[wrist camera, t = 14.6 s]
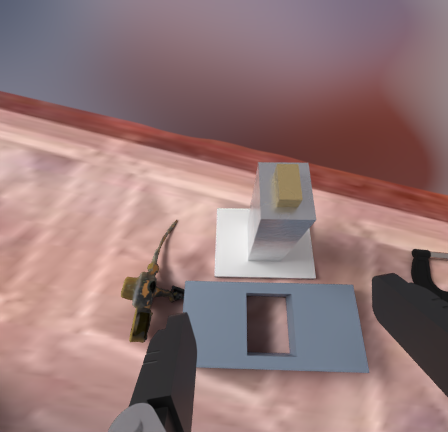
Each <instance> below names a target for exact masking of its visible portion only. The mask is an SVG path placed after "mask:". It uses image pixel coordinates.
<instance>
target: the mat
mask: <svg viewBox="0 0 448 432" xmlns="http://www.w3.org/2000/svg"><path fill="white" fill-rule="evenodd" d="M249 211H250V209H234V208H217V228H216V253H215V277H238V278H283V279H316V275H315V267H314V259H313V251H312V243H311V236H310V228H309V229H308V230H307V231H306V233H305V234H304V235H303V236H302V237H301V238H300V240H299V241H298V242H297V243H296V244H295V245H294V247H293V248H292V249H291V250H290V251H289V252H288V254H287V255H286V256H285V257H284V258H283V259H282V261H281V262H277V261H248V242H247V221H248V216H249Z"/></svg>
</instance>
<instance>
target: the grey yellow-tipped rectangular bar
mask: <svg viewBox="0 0 448 432" xmlns="http://www.w3.org/2000/svg"><path fill="white" fill-rule="evenodd" d="M315 221H316V215H315V207H314V200H313V193H312V186H311V179H310V172H309V165H308V163H262V162H258V168H257V173H256V179H255V184H254V189H253V195H252V200H251V205H250V211H249V216H248V221H247V242H248V261H277V262H281V261H282V259H283V258H284V257H285V256H286V255H287V254H288V252H289V251H290V250H291V249H292V248H293V247H294V245H295V244H296V243H297V242H298V241H299V240H300V238H301V237H302V236H303V235H304V234H305V233H306V231H307V230H308V229H309V228H310V227H311V225H312V224H313V223H314V222H315Z"/></svg>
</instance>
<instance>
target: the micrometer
mask: <svg viewBox="0 0 448 432" xmlns="http://www.w3.org/2000/svg"><path fill="white" fill-rule="evenodd" d="M412 256H413V257H414V259H413V262H412V269H411V275H412V279H413V282H414V284H416V285H419V286H421V287H424V288H426V289H428V290H430V291H431V292H433V293H434V294H435V295H437V296H438V297H440V299H441V300H444V301H446V302H447V303H448V292H446V291H443V290H441V289H439V288H438V287H437V286H436V285H435V284H434V283H433V281H432V279H431V274H430V267H429V258H434V259H445V260H448V253H441V252H431V251H428V250H419V249H414V250H413V251H412Z"/></svg>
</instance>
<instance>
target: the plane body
mask: <svg viewBox="0 0 448 432" xmlns="http://www.w3.org/2000/svg"><path fill="white" fill-rule="evenodd" d="M246 296H274V297H286V309H287V322H288V335H289V348H290V353H259V352H247V306H246ZM184 312H187V313H188V315H189V319H190V322H191V326H192V329H193V332H194V336H195V339H196V344H197V364H196V367H203V368H235V369H266V370H297V371H328V372H360V373H369V368H368V363H367V357H366V352H365V347H364V341H363V336H362V331H361V325H360V320H359V315H358V309H357V304H356V298H355V293H354V288H353V285H343V284H299V283H254V282H210V281H185V293H184V304H183V313H184Z"/></svg>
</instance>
